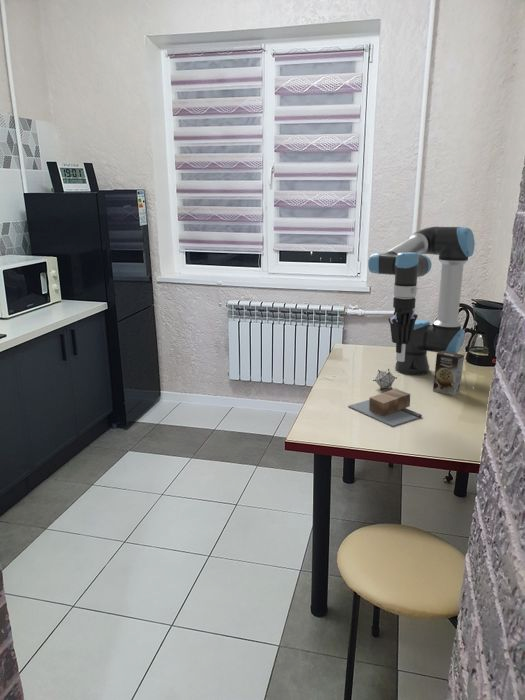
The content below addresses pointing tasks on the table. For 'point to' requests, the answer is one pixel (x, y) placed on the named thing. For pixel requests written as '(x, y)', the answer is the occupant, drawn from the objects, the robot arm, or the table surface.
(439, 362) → the coffee box
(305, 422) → the table surface
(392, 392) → the walnut block
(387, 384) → the game die
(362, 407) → the grey flat panel
